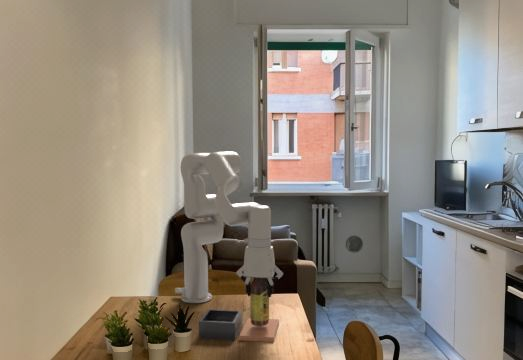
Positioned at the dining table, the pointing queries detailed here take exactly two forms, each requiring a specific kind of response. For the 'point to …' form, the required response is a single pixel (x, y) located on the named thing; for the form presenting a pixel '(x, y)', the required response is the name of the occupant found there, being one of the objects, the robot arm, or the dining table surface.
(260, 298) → the sauce bottle
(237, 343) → the dining table surface
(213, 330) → the bottle holder
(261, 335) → the plate
